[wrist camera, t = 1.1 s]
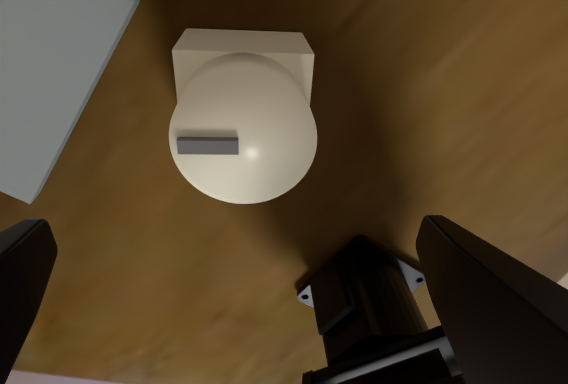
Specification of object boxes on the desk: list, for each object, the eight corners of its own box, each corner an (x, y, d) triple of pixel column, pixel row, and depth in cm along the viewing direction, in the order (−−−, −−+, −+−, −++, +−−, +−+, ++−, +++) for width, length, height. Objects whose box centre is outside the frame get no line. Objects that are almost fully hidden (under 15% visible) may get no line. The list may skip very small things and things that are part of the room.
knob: (301, 32, 17) (326, 75, 12) (294, 136, 20) (311, 208, 14) (186, 28, 16) (157, 70, 11) (195, 135, 19) (176, 209, 14)
